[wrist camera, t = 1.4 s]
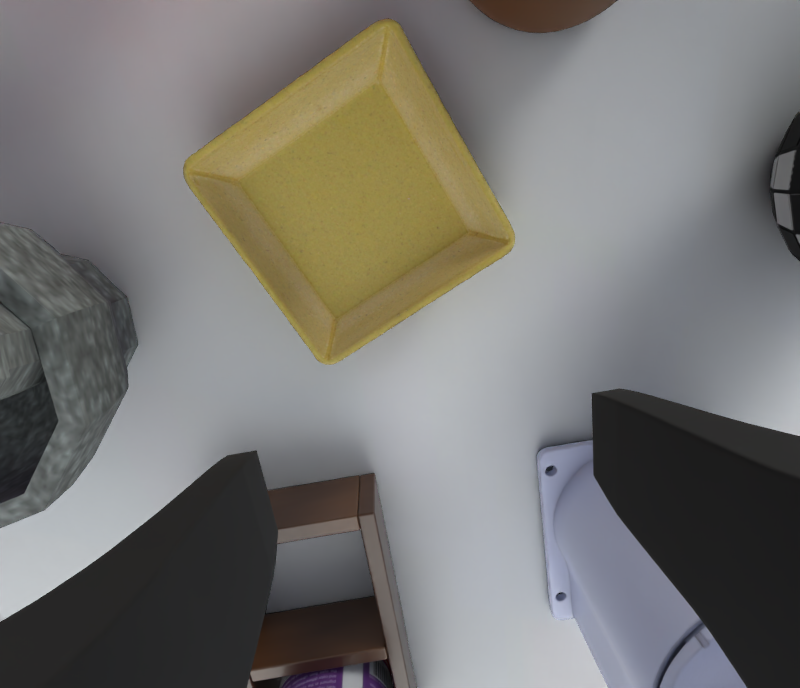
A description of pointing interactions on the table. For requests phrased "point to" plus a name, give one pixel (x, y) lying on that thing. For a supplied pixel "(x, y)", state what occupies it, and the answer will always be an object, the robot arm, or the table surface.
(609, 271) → the table surface
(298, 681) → the pill bottle
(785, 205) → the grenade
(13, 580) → the table surface
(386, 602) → the rack
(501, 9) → the mug
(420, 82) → the saucer
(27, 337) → the mortar and pestle
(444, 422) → the table surface
